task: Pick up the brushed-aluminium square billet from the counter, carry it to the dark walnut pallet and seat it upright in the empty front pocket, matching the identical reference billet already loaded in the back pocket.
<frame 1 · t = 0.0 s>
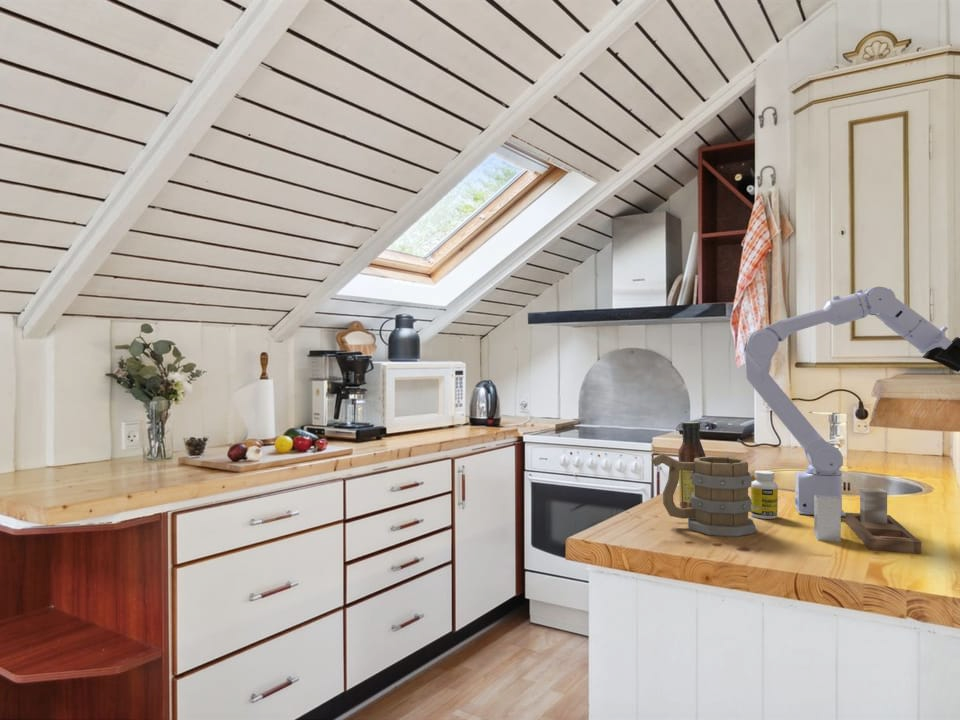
billet: (827, 538, 135), on the counter
supplement bottle: (764, 517, 153), on the counter
sauce bottle: (692, 509, 161), on the counter
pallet: (880, 536, 136), on the counter
tankard: (701, 528, 143), on the counter
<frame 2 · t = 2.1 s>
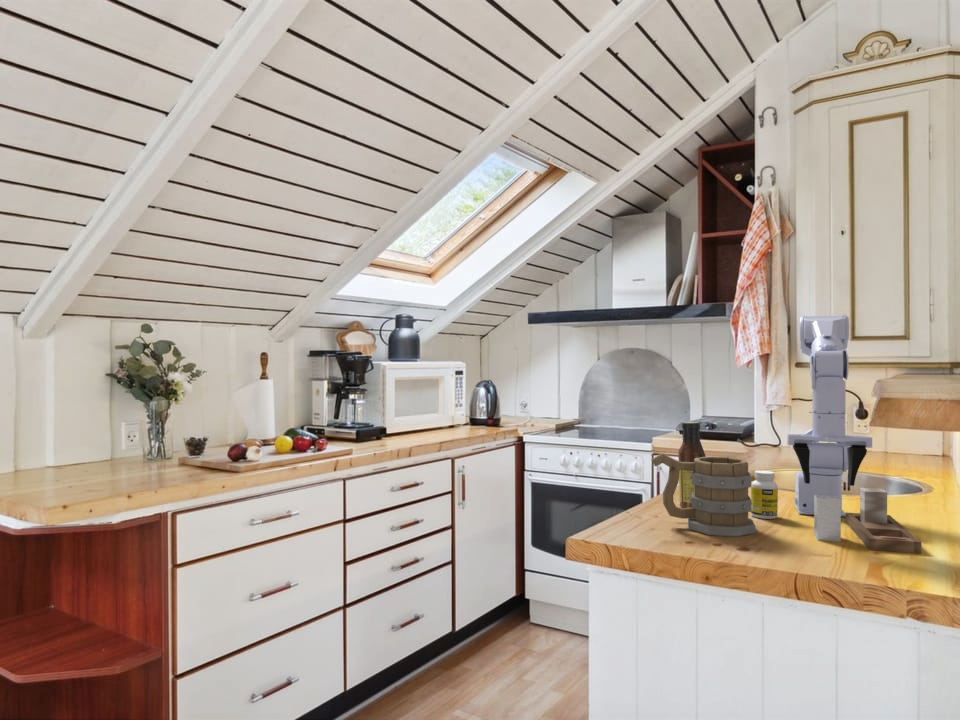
hand: (828, 483, 134), 11 cm above the counter, tool pointing down, fingers open, 7 cm apart
nothing on the counter moved.
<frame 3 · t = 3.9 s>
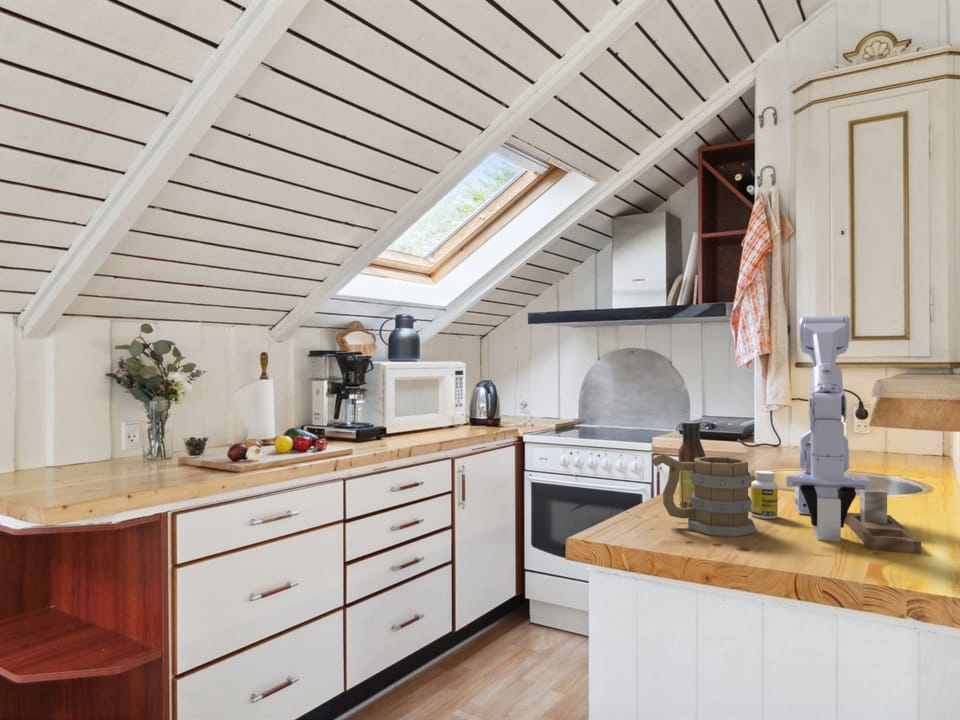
hand: (827, 525, 135), 2 cm above the counter, tool pointing down, fingers closed on billet, 4 cm apart
billet: (827, 538, 135), on the counter, touching gripper
everything else where it was.
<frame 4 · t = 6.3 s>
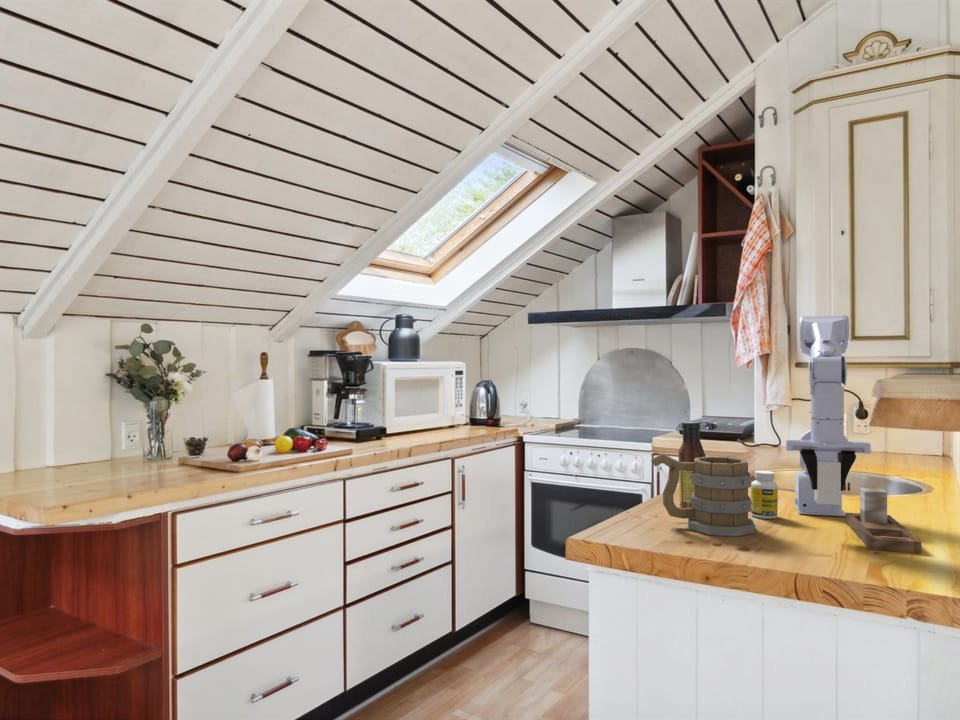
hand: (827, 489, 135), 9 cm above the counter, tool pointing down, fingers closed on billet, 4 cm apart
billet: (827, 502, 135), point 7 cm above the counter, touching gripper
everything else where it was.
when the fingers open (5 cm above the counter, at t = 9.1 s): billet drops 3 cm, resting in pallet.
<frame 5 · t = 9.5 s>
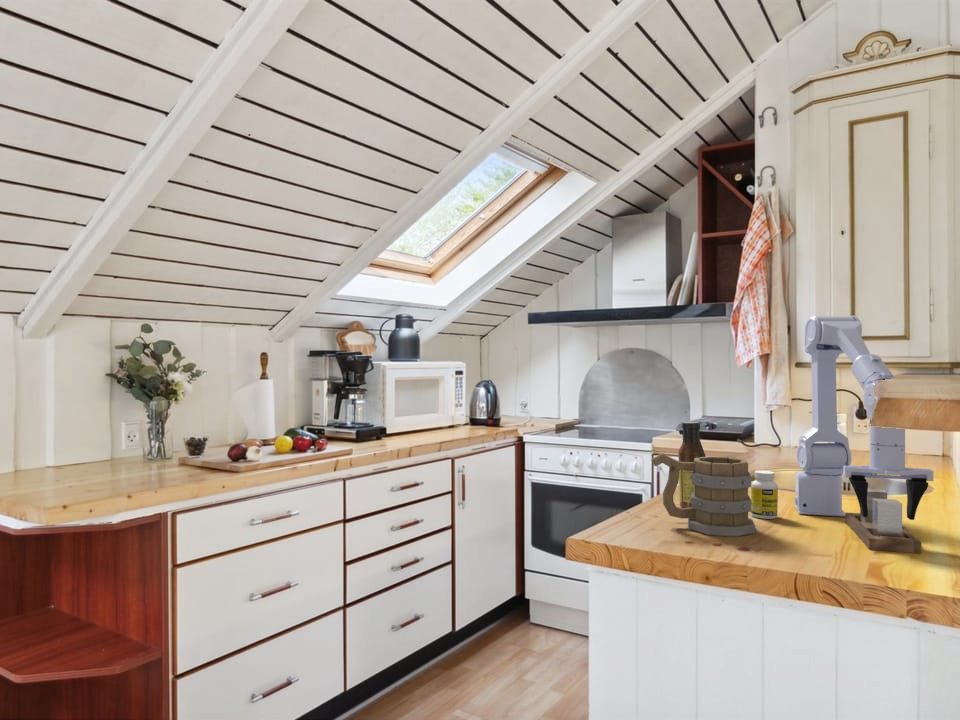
hand: (887, 517, 131), 5 cm above the counter, tool pointing down, fingers open, 7 cm apart
billet: (887, 543, 131), resting in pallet
everything else where it was.
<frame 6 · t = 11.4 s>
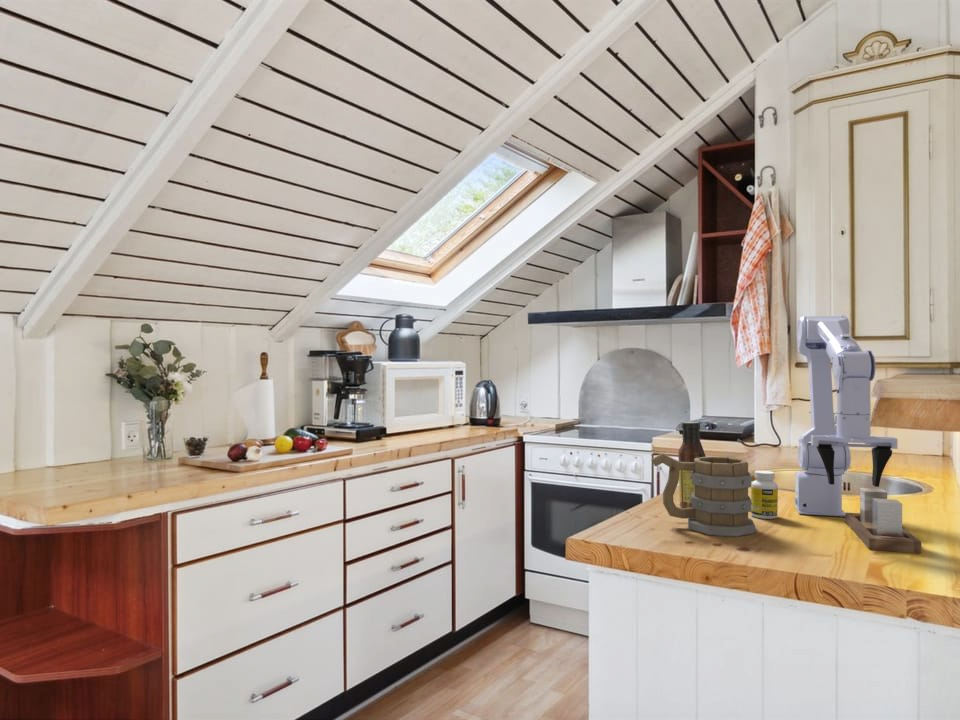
hand: (853, 484, 134), 10 cm above the counter, tool pointing down, fingers open, 7 cm apart
nothing on the counter moved.
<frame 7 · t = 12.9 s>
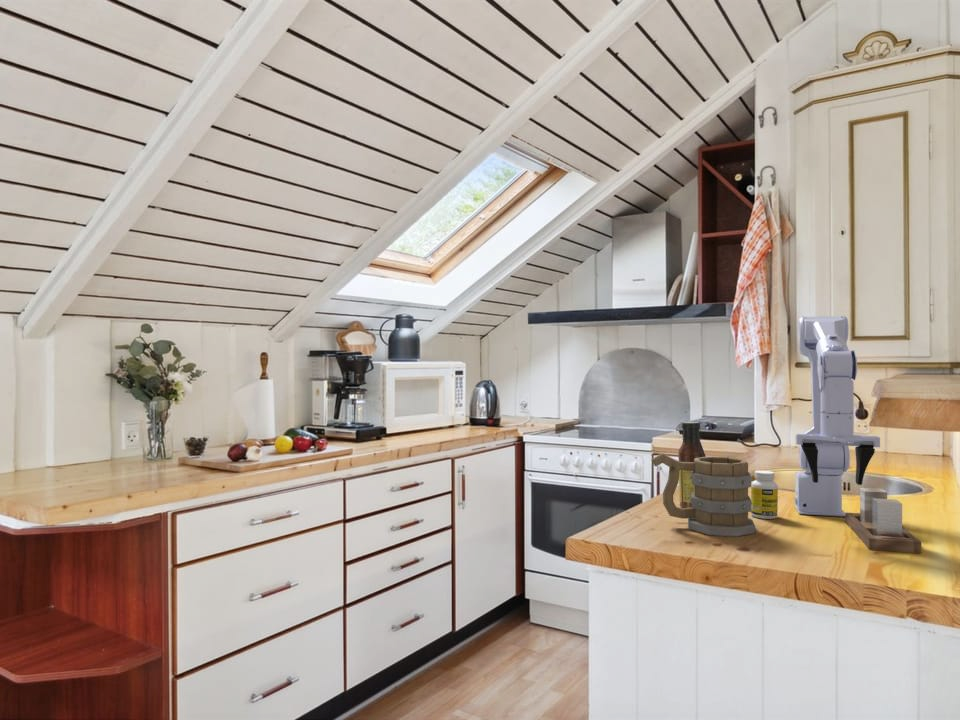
hand: (836, 482, 136), 10 cm above the counter, tool pointing down, fingers open, 7 cm apart
nothing on the counter moved.
at the end: billet 0.0 cm from the target spot on the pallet, point 0.0 cm above the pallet's base; billet tilted 0°; the gripper is holding nothing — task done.
